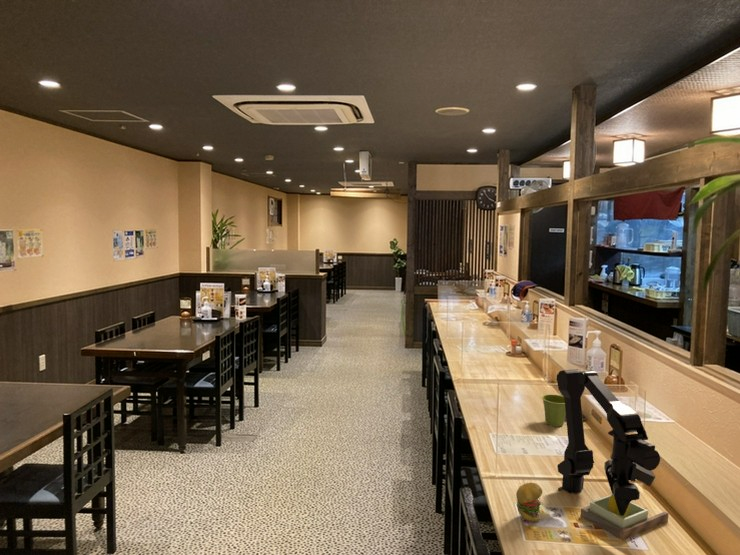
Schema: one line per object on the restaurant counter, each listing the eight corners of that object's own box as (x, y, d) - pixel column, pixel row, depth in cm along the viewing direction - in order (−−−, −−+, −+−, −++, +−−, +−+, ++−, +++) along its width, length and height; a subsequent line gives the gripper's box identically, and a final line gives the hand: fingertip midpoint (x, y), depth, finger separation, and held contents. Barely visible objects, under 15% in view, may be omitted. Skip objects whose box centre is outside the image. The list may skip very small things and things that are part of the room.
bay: (622, 543, 152) (623, 531, 152) (580, 519, 164) (581, 508, 164) (667, 524, 163) (668, 512, 163) (624, 502, 175) (625, 492, 174)
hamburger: (542, 527, 159) (544, 487, 158) (516, 524, 160) (518, 484, 159) (538, 513, 167) (541, 474, 166) (513, 510, 168) (516, 472, 167)
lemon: (603, 515, 163) (604, 490, 162) (617, 511, 165) (619, 486, 164) (618, 526, 158) (620, 500, 157) (633, 521, 160) (634, 495, 159)
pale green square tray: (622, 535, 154) (624, 520, 154) (588, 516, 164) (590, 502, 163) (646, 525, 160) (648, 510, 160) (612, 507, 169) (613, 493, 169)
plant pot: (536, 424, 240) (538, 399, 239) (545, 417, 250) (546, 392, 249) (564, 431, 234) (566, 405, 232) (572, 423, 243) (574, 398, 242)
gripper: (662, 473, 149) (657, 528, 151) (646, 446, 167) (641, 496, 169) (617, 467, 151) (612, 522, 153) (606, 441, 170) (602, 490, 171)
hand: (618, 507), depth 161 cm, fingers open, 9 cm apart
